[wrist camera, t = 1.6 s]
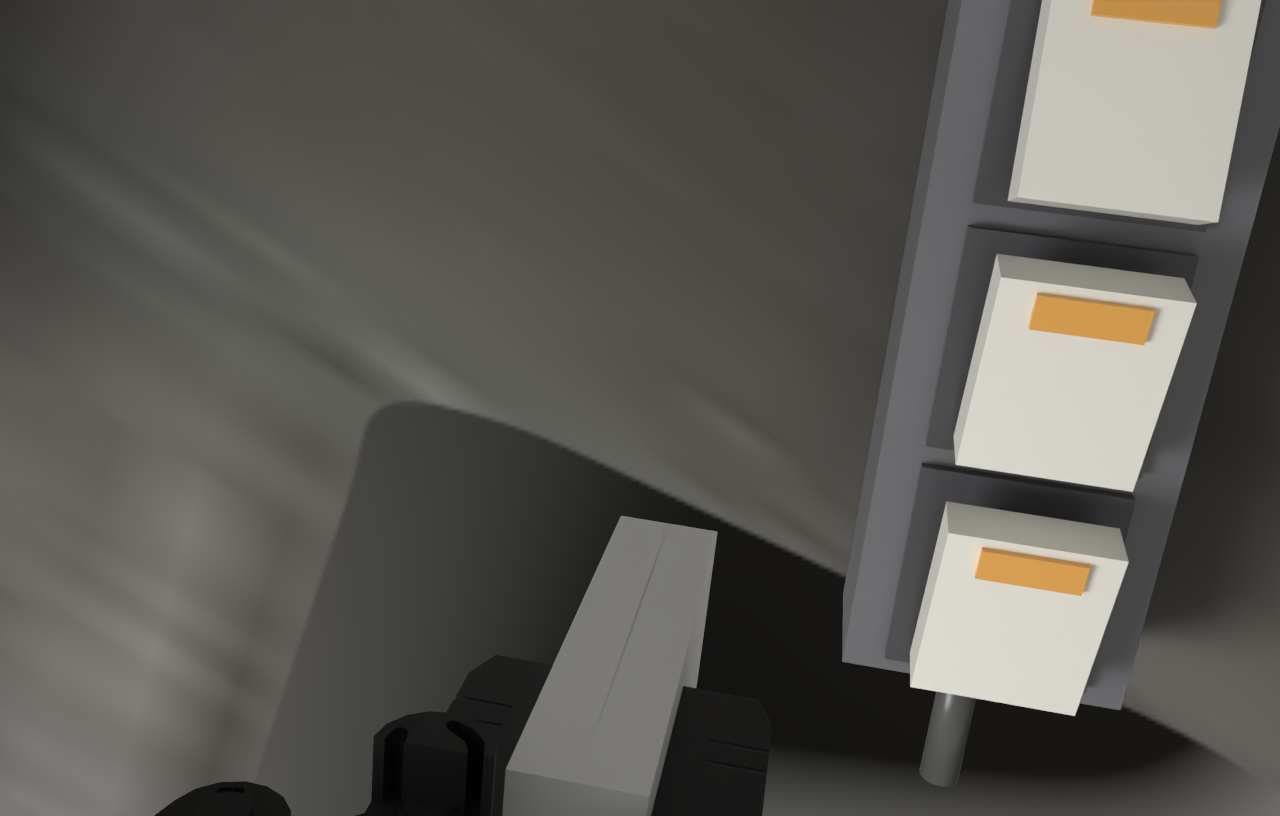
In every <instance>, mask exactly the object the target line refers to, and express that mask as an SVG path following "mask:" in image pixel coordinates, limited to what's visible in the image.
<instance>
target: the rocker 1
mask: <svg viewBox="0 0 1280 816" xmlns="http://www.w3.org/2000/svg"><path fill="white" fill-rule="evenodd" d="M1260 5H1261V0H1042V4H1041V9H1040V15H1039V21H1038V27H1037V33H1036V39H1035V44H1034V50H1033V56H1032V62H1031V68H1030V73H1029V79H1028V85H1027V91H1026V97H1025V103H1024V108H1023V114H1022V120H1021V126H1020V132H1019V137H1018V143H1017V149H1016V155H1015V161H1014V167H1013V172H1012V178H1011V184H1010V190H1009V196H1008V201H1012V202H1020V203H1028V204H1035V205H1043V206H1051V207H1059V208H1067V209H1075V210H1083V211H1091V212H1099V213H1107V214H1115V215H1123V216H1131V217H1139V218H1147V219H1155V220H1163V221H1171V222H1179V223H1187V224H1195V225H1201V224H1209V223H1217V222H1218V221H1219V215H1220V210H1221V205H1222V200H1223V195H1224V190H1225V185H1226V179H1227V174H1228V169H1229V164H1230V159H1231V154H1232V149H1233V143H1234V138H1235V133H1236V128H1237V123H1238V118H1239V113H1240V108H1241V102H1242V97H1243V92H1244V87H1245V82H1246V77H1247V72H1248V66H1249V61H1250V56H1251V51H1252V46H1253V41H1254V36H1255V30H1256V25H1257V20H1258V15H1259V10H1260Z"/></svg>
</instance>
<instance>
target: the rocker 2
mask: <svg viewBox="0 0 1280 816" xmlns="http://www.w3.org/2000/svg"><path fill="white" fill-rule="evenodd" d="M1196 304H1197V303H1196V301H1195V299H1194V297H1193V295H1192V293H1191V291H1190V289H1189V287H1188V285H1187V283H1186V281H1185V279H1184V278H1178V277H1171V276H1163V275H1155V274H1148V273H1140V272H1132V271H1125V270H1117V269H1110V268H1102V267H1094V266H1087V265H1079V264H1071V263H1064V262H1056V261H1049V260H1041V259H1033V258H1026V257H1018V256H1010V255H1003V254H997V255H996V259H995V264H994V268H993V272H992V276H991V280H990V285H989V289H988V293H987V297H986V301H985V306H984V310H983V314H982V318H981V323H980V327H979V331H978V335H977V339H976V344H975V348H974V352H973V356H972V360H971V365H970V369H969V373H968V377H967V381H966V386H965V390H964V394H963V398H962V402H961V407H960V411H959V415H958V419H957V423H956V428H955V432H954V436H953V437H954V450H955V464H956V465H960V466H967V467H973V468H980V469H986V470H993V471H999V472H1006V473H1012V474H1019V475H1026V476H1032V477H1039V478H1045V479H1052V480H1058V481H1065V482H1071V483H1078V484H1084V485H1091V486H1097V487H1104V488H1110V489H1117V490H1124V491H1130V492H1133V490H1134V487H1135V484H1136V481H1137V478H1138V475H1139V472H1140V469H1141V466H1142V463H1143V460H1144V457H1145V455H1146V452H1147V449H1148V446H1149V443H1150V440H1151V437H1152V434H1153V431H1154V428H1155V425H1156V422H1157V419H1158V416H1159V413H1160V410H1161V407H1162V404H1163V402H1164V399H1165V396H1166V393H1167V390H1168V387H1169V384H1170V381H1171V378H1172V375H1173V372H1174V369H1175V366H1176V363H1177V360H1178V357H1179V354H1180V351H1181V349H1182V346H1183V343H1184V340H1185V337H1186V334H1187V331H1188V328H1189V325H1190V322H1191V319H1192V316H1193V313H1194V310H1195V307H1196Z"/></svg>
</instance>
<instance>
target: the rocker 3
mask: <svg viewBox="0 0 1280 816" xmlns="http://www.w3.org/2000/svg"><path fill="white" fill-rule="evenodd" d="M1128 563H1129V561H1128V557H1127V553H1126V550H1125V546H1124V542H1123V538H1122V535H1121V531H1120V528H1113V527H1107V526H1101V525H1094V524H1088V523H1081V522H1075V521H1069V520H1062V519H1056V518H1050V517H1043V516H1037V515H1030V514H1024V513H1018V512H1011V511H1005V510H999V509H992V508H986V507H979V506H973V505H967V504H960V503H954V502H948V501H946V505H945V510H944V514H943V518H942V522H941V526H940V530H939V534H938V538H937V543H936V547H935V551H934V555H933V559H932V563H931V567H930V571H929V576H928V580H927V584H926V588H925V592H924V596H923V600H922V604H921V609H920V613H919V617H918V621H917V625H916V629H915V633H914V637H913V642H912V646H911V650H910V687H914V688H920V689H925V690H931V691H937V692H942V693H948V694H954V695H959V696H965V697H971V698H976V699H982V700H988V701H993V702H999V703H1005V704H1010V705H1017V706H1022V707H1027V708H1033V709H1039V710H1045V711H1051V712H1056V713H1061V714H1067V715H1073V716H1075V714H1076V711H1077V708H1078V705H1079V703H1080V700H1081V697H1082V694H1083V691H1084V688H1085V685H1086V683H1087V680H1088V677H1089V674H1090V671H1091V668H1092V665H1093V663H1094V660H1095V657H1096V654H1097V651H1098V648H1099V646H1100V643H1101V640H1102V637H1103V634H1104V631H1105V628H1106V626H1107V623H1108V620H1109V617H1110V614H1111V611H1112V608H1113V606H1114V603H1115V600H1116V597H1117V594H1118V591H1119V588H1120V586H1121V583H1122V580H1123V577H1124V574H1125V571H1126V568H1127V566H1128Z"/></svg>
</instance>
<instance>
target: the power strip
mask: <svg viewBox="0 0 1280 816" xmlns="http://www.w3.org/2000/svg"><path fill="white" fill-rule="evenodd" d="M1041 4H1042V0H948V6H947V12H946V17H945V23H944V28H943V34H942V40H941V45H940V51H939V57H938V62H937V68H936V74H935V79H934V85H933V91H932V96H931V102H930V107H929V113H928V119H927V124H926V130H925V136H924V141H923V147H922V153H921V158H920V164H919V170H918V175H917V181H916V186H915V192H914V198H913V203H912V209H911V215H910V220H909V226H908V232H907V237H906V243H905V249H904V254H903V260H902V265H901V271H900V277H899V282H898V288H897V294H896V299H895V305H894V311H893V316H892V322H891V328H890V333H889V339H888V344H887V350H886V356H885V361H884V367H883V373H882V378H881V384H880V390H879V395H878V401H877V406H876V412H875V418H874V423H873V429H872V435H871V440H870V446H869V452H868V457H867V463H866V469H865V474H864V480H863V485H862V491H861V497H860V502H859V508H858V514H857V519H856V525H855V531H854V536H853V542H852V548H851V553H850V559H849V564H848V570H847V576H846V581H845V587H844V593H843V658H842V661H843V662H848V663H853V664H860V665H865V666H871V667H876V668H882V669H888V670H893V671H899V672H905V673H910V650H911V646H912V642H913V637H914V633H915V629H916V625H917V621H918V617H919V613H920V609H921V604H922V600H923V596H924V592H925V588H926V584H927V580H928V576H929V571H930V567H931V563H932V559H933V555H934V551H935V547H936V543H937V538H938V534H939V530H940V526H941V522H942V518H943V514H944V510H945V505H946V501H948V502H954V503H960V504H967V505H973V506H979V507H986V508H992V509H999V510H1005V511H1011V512H1018V513H1024V514H1030V515H1037V516H1043V517H1050V518H1056V519H1062V520H1069V521H1075V522H1081V523H1088V524H1094V525H1101V526H1107V527H1113V528H1120V531H1121V535H1122V538H1123V542H1124V546H1125V550H1126V553H1127V557H1128V561H1129V563H1128V566H1127V568H1126V571H1125V574H1124V577H1123V580H1122V583H1121V586H1120V588H1119V591H1118V594H1117V597H1116V600H1115V603H1114V606H1113V608H1112V611H1111V614H1110V617H1109V620H1108V623H1107V626H1106V628H1105V631H1104V634H1103V637H1102V640H1101V643H1100V646H1099V648H1098V651H1097V654H1096V657H1095V660H1094V663H1093V665H1092V668H1091V671H1090V674H1089V677H1088V680H1087V683H1086V685H1085V688H1084V691H1083V694H1082V697H1081V700H1080V703H1082V704H1088V705H1093V706H1099V707H1105V708H1110V709H1116V710H1121V706H1122V703H1123V699H1124V695H1125V692H1126V688H1127V684H1128V681H1129V677H1130V673H1131V670H1132V666H1133V662H1134V659H1135V655H1136V651H1137V648H1138V644H1139V640H1140V637H1141V633H1142V629H1143V626H1144V622H1145V618H1146V615H1147V611H1148V607H1149V604H1150V600H1151V596H1152V593H1153V589H1154V585H1155V582H1156V578H1157V574H1158V571H1159V567H1160V563H1161V560H1162V556H1163V553H1164V549H1165V545H1166V542H1167V538H1168V534H1169V531H1170V527H1171V523H1172V520H1173V516H1174V512H1175V509H1176V505H1177V501H1178V498H1179V494H1180V490H1181V487H1182V483H1183V479H1184V476H1185V472H1186V468H1187V465H1188V461H1189V457H1190V454H1191V450H1192V446H1193V443H1194V439H1195V435H1196V432H1197V428H1198V424H1199V421H1200V417H1201V413H1202V410H1203V406H1204V402H1205V399H1206V395H1207V391H1208V388H1209V384H1210V380H1211V377H1212V373H1213V369H1214V366H1215V362H1216V358H1217V355H1218V351H1219V347H1220V344H1221V340H1222V336H1223V333H1224V329H1225V325H1226V322H1227V318H1228V314H1229V311H1230V307H1231V303H1232V300H1233V296H1234V292H1235V289H1236V285H1237V281H1238V278H1239V274H1240V270H1241V267H1242V263H1243V259H1244V256H1245V252H1246V248H1247V245H1248V241H1249V238H1250V234H1251V230H1252V227H1253V223H1254V219H1255V216H1256V212H1257V208H1258V205H1259V201H1260V197H1261V194H1262V190H1263V186H1264V183H1265V179H1266V175H1267V172H1268V168H1269V164H1270V161H1271V157H1272V153H1273V150H1274V146H1275V142H1276V139H1277V135H1278V131H1279V128H1280V0H1261V5H1260V10H1259V15H1258V20H1257V25H1256V30H1255V36H1254V41H1253V46H1252V51H1251V56H1250V61H1249V66H1248V72H1247V77H1246V82H1245V87H1244V92H1243V97H1242V102H1241V108H1240V113H1239V118H1238V123H1237V128H1236V133H1235V138H1234V143H1233V149H1232V154H1231V159H1230V164H1229V169H1228V174H1227V179H1226V185H1225V190H1224V195H1223V200H1222V205H1221V210H1220V215H1219V221H1218V222H1217V223H1209V224H1201V225H1195V224H1187V223H1179V222H1171V221H1163V220H1155V219H1147V218H1139V217H1131V216H1123V215H1115V214H1107V213H1099V212H1091V211H1083V210H1075V209H1067V208H1059V207H1051V206H1043V205H1035V204H1028V203H1020V202H1012V201H1008V196H1009V190H1010V184H1011V178H1012V172H1013V167H1014V161H1015V155H1016V149H1017V143H1018V137H1019V132H1020V126H1021V120H1022V114H1023V108H1024V103H1025V97H1026V91H1027V85H1028V79H1029V73H1030V68H1031V62H1032V56H1033V50H1034V44H1035V39H1036V33H1037V27H1038V21H1039V15H1040V9H1041ZM997 254H1003V255H1010V256H1018V257H1026V258H1033V259H1041V260H1049V261H1056V262H1064V263H1071V264H1079V265H1087V266H1094V267H1102V268H1110V269H1117V270H1125V271H1132V272H1140V273H1148V274H1155V275H1163V276H1171V277H1178V278H1184V279H1185V281H1186V283H1187V285H1188V287H1189V289H1190V291H1191V293H1192V295H1193V297H1194V299H1195V301H1196V303H1197V304H1196V307H1195V310H1194V313H1193V316H1192V319H1191V322H1190V325H1189V328H1188V331H1187V334H1186V337H1185V340H1184V343H1183V346H1182V349H1181V351H1180V354H1179V357H1178V360H1177V363H1176V366H1175V369H1174V372H1173V375H1172V378H1171V381H1170V384H1169V387H1168V390H1167V393H1166V396H1165V399H1164V402H1163V404H1162V407H1161V410H1160V413H1159V416H1158V419H1157V422H1156V425H1155V428H1154V431H1153V434H1152V437H1151V440H1150V443H1149V446H1148V449H1147V452H1146V455H1145V457H1144V460H1143V463H1142V466H1141V469H1140V472H1139V475H1138V478H1137V481H1136V484H1135V487H1134V490H1133V492H1130V491H1124V490H1117V489H1110V488H1104V487H1097V486H1091V485H1084V484H1078V483H1071V482H1065V481H1058V480H1052V479H1045V478H1039V477H1032V476H1026V475H1019V474H1012V473H1006V472H999V471H993V470H986V469H980V468H973V467H967V466H960V465H956V464H955V450H954V437H953V436H954V432H955V428H956V423H957V419H958V415H959V411H960V407H961V402H962V398H963V394H964V390H965V386H966V381H967V377H968V373H969V369H970V365H971V360H972V356H973V352H974V348H975V344H976V339H977V335H978V331H979V327H980V323H981V318H982V314H983V310H984V306H985V301H986V297H987V293H988V289H989V285H990V280H991V276H992V272H993V268H994V264H995V259H996V255H997ZM975 702H976V698H971V697H965V696H959V695H954V694H948V693H942V692H937V691H936V696H935V702H934V706H933V711H932V715H931V720H930V724H929V729H928V734H927V738H926V743H925V748H924V753H923V757H922V762H921V767H920V774H921V775H922V777H923V778H924V779H925V780H927V781H928V782H930V783H932V784H934V785H937V786H943V787H948V786H953V785H955V784H956V783H957V781H958V777H959V772H960V768H961V763H962V759H963V755H964V750H965V746H966V741H967V737H968V732H969V728H970V724H971V719H972V715H973V710H974V706H975Z"/></svg>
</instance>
